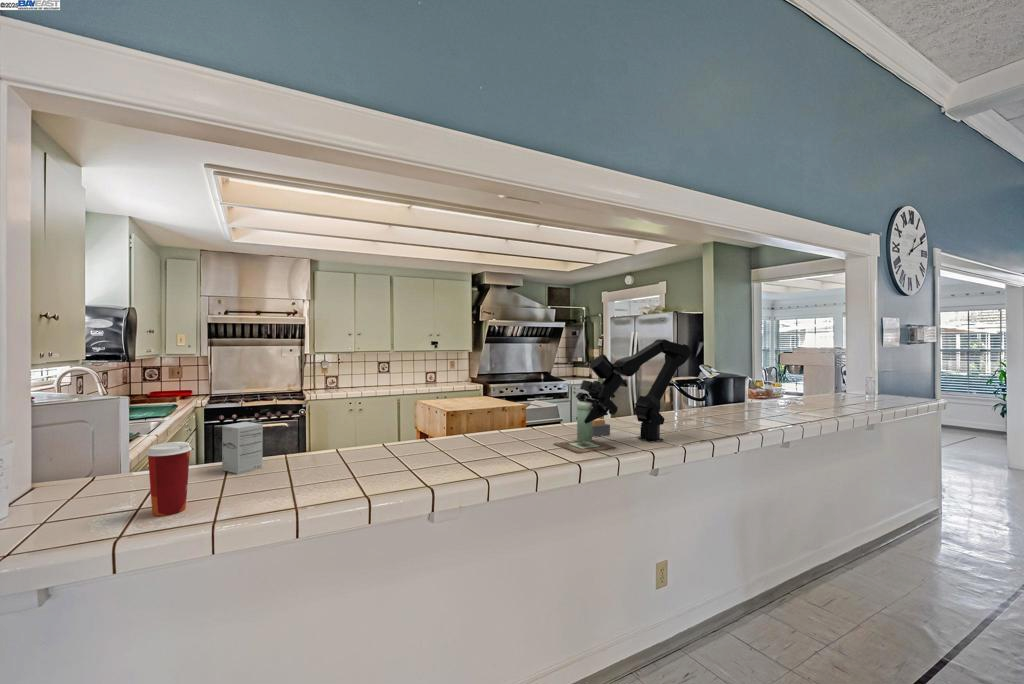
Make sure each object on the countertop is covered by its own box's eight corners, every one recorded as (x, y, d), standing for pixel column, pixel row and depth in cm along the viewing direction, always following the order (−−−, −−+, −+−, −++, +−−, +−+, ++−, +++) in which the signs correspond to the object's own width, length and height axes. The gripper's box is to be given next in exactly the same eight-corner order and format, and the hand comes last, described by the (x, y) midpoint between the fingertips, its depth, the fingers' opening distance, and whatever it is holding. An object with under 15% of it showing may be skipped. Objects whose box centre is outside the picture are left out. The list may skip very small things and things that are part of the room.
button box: (596, 431, 179) (596, 421, 179) (609, 435, 172) (610, 424, 172) (580, 433, 176) (580, 422, 176) (593, 437, 169) (593, 426, 169)
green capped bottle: (582, 437, 158) (582, 400, 158) (594, 439, 154) (595, 402, 154) (573, 440, 154) (574, 402, 154) (586, 442, 150) (587, 403, 150)
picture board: (590, 439, 164) (590, 438, 164) (615, 448, 152) (615, 446, 152) (553, 444, 156) (553, 443, 156) (577, 453, 144) (577, 452, 144)
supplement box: (221, 470, 124) (221, 425, 123) (247, 464, 130) (247, 420, 130) (237, 474, 120) (237, 427, 120) (263, 467, 127) (263, 423, 127)
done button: (596, 423, 178) (596, 417, 177) (604, 425, 173) (604, 419, 173) (585, 424, 175) (585, 418, 175) (594, 427, 170) (594, 420, 170)
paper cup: (200, 504, 98) (200, 441, 98) (171, 518, 91) (171, 450, 91) (166, 503, 99) (166, 440, 99) (135, 517, 91) (135, 449, 91)
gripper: (580, 370, 164) (553, 401, 160) (610, 374, 147) (580, 409, 143) (598, 390, 167) (572, 422, 163) (629, 396, 150) (601, 432, 146)
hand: (581, 421), depth 154 cm, fingers closed on green capped bottle, 5 cm apart
